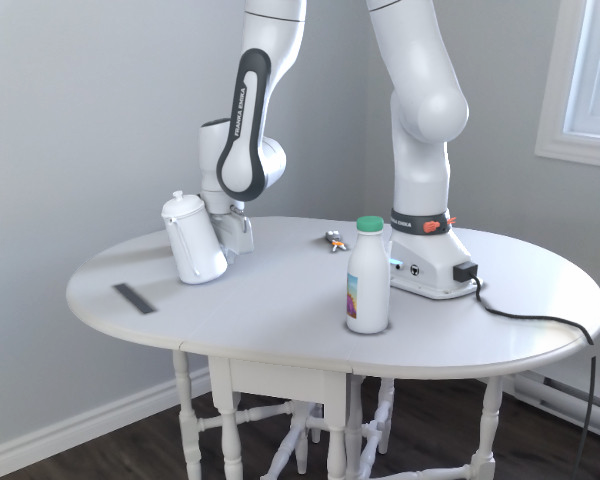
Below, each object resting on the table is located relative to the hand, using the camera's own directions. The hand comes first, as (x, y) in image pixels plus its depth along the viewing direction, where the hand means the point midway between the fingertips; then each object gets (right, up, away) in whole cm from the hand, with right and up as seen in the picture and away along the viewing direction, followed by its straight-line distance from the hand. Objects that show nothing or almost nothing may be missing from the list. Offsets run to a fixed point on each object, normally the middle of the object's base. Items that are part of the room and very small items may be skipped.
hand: (228, 262), depth 144 cm
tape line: (-19, -9, -10) cm, 23 cm away
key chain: (+25, +8, +17) cm, 31 cm away
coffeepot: (-5, -3, -2) cm, 7 cm away
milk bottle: (+29, -17, -25) cm, 42 cm away
